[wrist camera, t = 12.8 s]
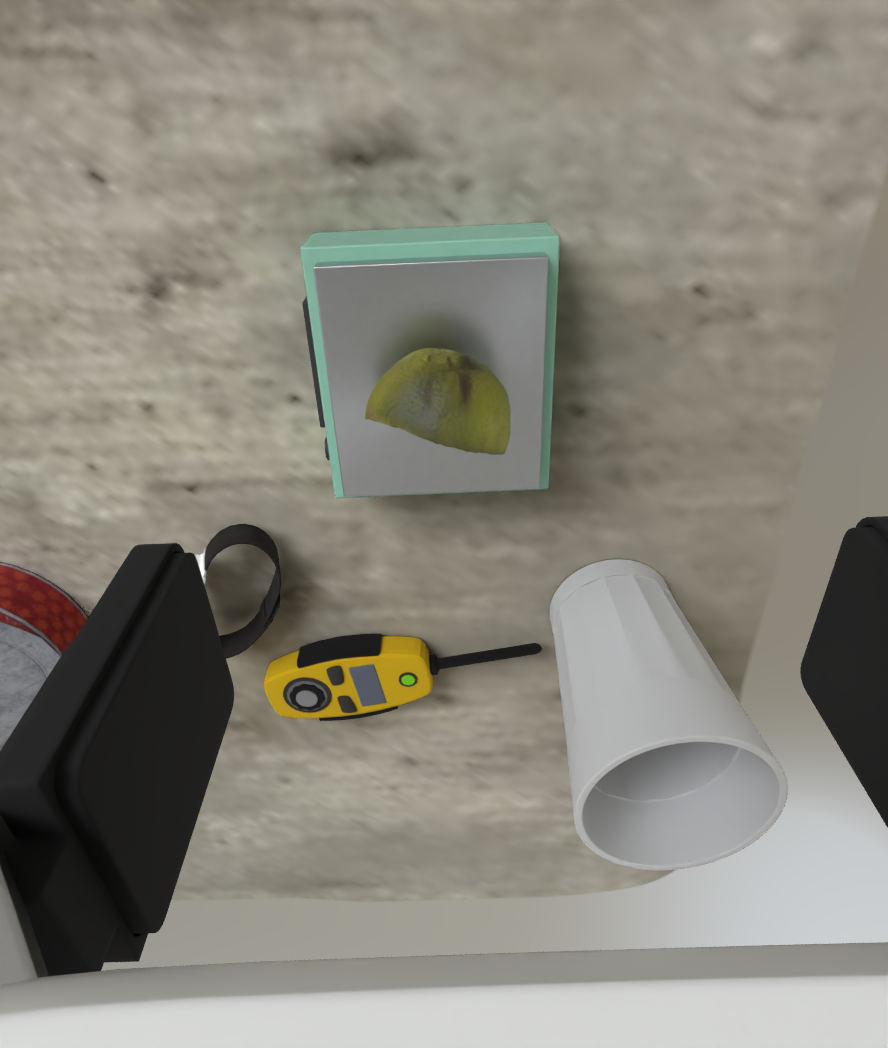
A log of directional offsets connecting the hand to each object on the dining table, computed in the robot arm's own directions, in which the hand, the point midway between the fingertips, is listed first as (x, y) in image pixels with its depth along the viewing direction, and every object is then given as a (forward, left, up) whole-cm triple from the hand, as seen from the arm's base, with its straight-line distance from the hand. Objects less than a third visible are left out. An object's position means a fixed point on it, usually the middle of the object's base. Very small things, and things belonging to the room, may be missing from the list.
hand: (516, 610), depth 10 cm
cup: (+17, +7, -21) cm, 27 cm away
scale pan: (+3, -1, -17) cm, 18 cm away
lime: (+3, -1, -17) cm, 17 cm away
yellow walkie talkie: (+20, -4, -21) cm, 29 cm away
